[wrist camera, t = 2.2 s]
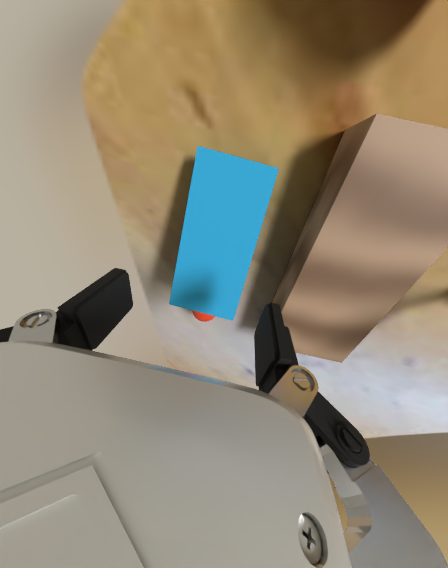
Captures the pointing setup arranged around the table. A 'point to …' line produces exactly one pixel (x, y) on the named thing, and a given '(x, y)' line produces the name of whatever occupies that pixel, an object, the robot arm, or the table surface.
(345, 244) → the walnut riser block
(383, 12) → the table surface
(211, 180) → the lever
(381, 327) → the table surface
